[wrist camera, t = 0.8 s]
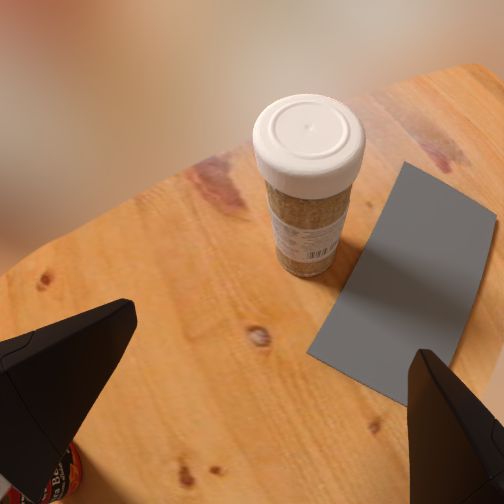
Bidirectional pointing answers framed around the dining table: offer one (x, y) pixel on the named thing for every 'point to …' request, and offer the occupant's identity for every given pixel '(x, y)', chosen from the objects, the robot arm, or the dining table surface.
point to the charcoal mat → (408, 285)
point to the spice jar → (308, 176)
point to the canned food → (56, 481)
